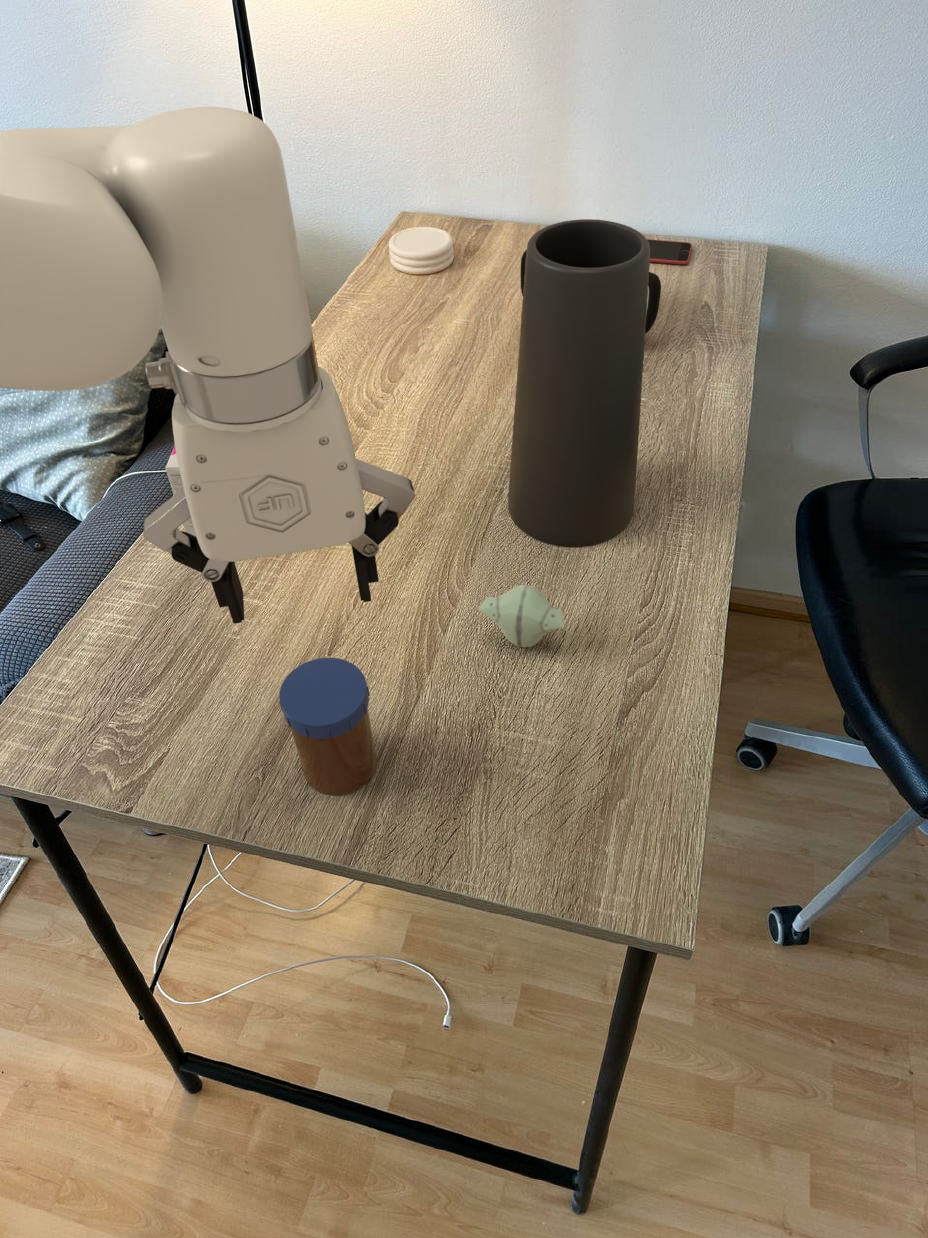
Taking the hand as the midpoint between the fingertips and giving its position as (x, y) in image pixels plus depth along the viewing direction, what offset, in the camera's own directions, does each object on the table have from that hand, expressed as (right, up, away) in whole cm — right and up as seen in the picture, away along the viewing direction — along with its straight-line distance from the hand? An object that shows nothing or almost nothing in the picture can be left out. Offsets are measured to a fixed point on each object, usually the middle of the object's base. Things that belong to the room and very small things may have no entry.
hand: (301, 597), depth 61 cm
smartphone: (+39, +56, +79) cm, 104 cm away
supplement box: (-15, +7, +35) cm, 39 cm away
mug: (+28, +37, +62) cm, 77 cm away
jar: (+1, -14, +14) cm, 20 cm away
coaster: (+5, +54, +79) cm, 96 cm away
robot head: (+17, -4, +23) cm, 29 cm away
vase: (+23, +11, +37) cm, 45 cm away
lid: (0, -7, +8) cm, 10 cm away
